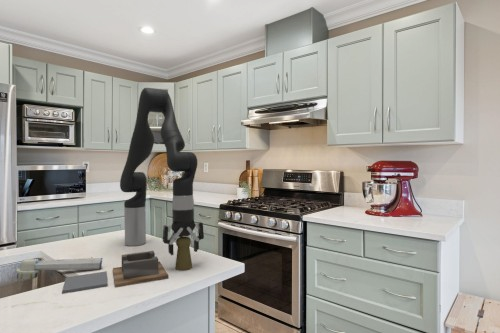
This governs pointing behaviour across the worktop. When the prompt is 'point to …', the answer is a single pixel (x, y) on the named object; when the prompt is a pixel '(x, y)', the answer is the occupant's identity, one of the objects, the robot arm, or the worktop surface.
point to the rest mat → (85, 282)
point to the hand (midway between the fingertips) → (183, 253)
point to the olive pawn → (183, 254)
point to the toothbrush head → (56, 266)
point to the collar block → (139, 269)
